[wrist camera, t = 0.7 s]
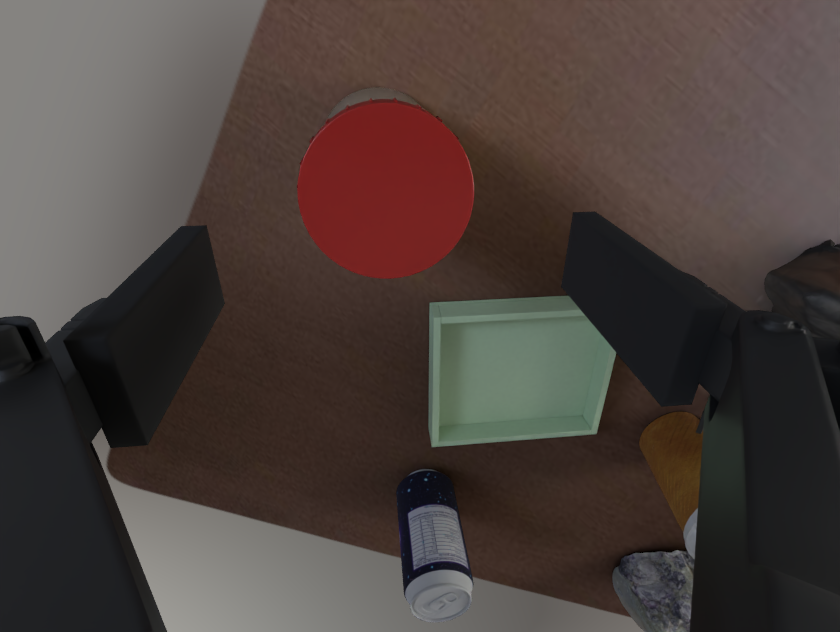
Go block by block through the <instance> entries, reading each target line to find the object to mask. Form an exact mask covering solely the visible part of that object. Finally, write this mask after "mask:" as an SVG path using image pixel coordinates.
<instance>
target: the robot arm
mask: <svg viewBox="0 0 840 632" xmlns="http://www.w3.org/2000/svg"><path fill="white" fill-rule="evenodd" d="M561 287H562V288H563V289H564V291H565V292H566V293H567V294H568V295H569V297H570V298H571V299H572V300H573V301H574V303H575V304H576V305H577V306H578V307H579V309H580V310H581V311H582V312H583V313H584V315H585V316H586V317H587V318H588V319H589V321H590V322H591V323H592V324H593V325H594V327H595V328H596V329H597V330H598V331H599V333H600V334H601V335H602V336H603V337H604V338H605V340H606V341H607V342H608V343H609V344H610V346H611V347H612V348H613V349H614V350H615V352H616V353H617V354H618V355H619V356H620V358H621V359H622V360H623V361H624V362H625V364H626V365H627V366H628V367H629V368H630V370H631V371H632V372H633V373H634V374H635V376H636V377H637V378H638V379H639V380H640V382H641V383H642V384H643V385H644V386H645V388H646V389H647V390H648V391H649V392H650V393H651V395H652V396H653V397H654V398H655V399H656V401H657V402H658V403H659V404H660V405H661V407H664V406H677V405H690V404H692V402H693V399H694V396H695V393H696V390H697V388H698V385H699V384H700V385H701V386H702V387H703V388H704V389H706V390H707V391H708V392H709V393H710V396H709V398H708V401H707V403H706V406H705V409H704V411H703V414H702V417H701V419H700V422H699V424H698V427H697V430H696V432H695V433H699V434H701V433H702V431H703V441H702V455H701V470H700V485H699V500H698V514H697V529H696V544H695V559H694V573H693V588H692V603H691V618H690V632H840V340H837V339H828V338H819V337H812V334H811V332H810V330H809V329H808V328H807V327H806V326H805V325H803V324H802V323H800V322H799V321H797V320H795V319H792V318H790V317H787V316H785V315H781V314H778V313H774V312H768V311H760V310H757V311H747V312H746V311H744V310H743V309H741V308H740V307H738V306H737V305H736V304H734V303H733V302H731V301H730V300H728V299H727V298H725V297H724V296H722V295H721V294H718V292H716V291H715V290H714V289H712V288H711V287H707V285H706V284H705V283H703V282H702V281H700V280H699V279H697V278H696V277H694V276H692V275H689V274H687V273H685V272H682V271H680V270H678V269H677V268H675V267H674V266H672V265H671V264H670V263H668V262H667V261H665V260H664V259H662V258H661V257H659V256H658V255H657V254H655V253H654V252H652V251H651V250H649V249H648V248H647V247H645V246H644V245H642V244H641V243H639V242H638V241H637V240H635V239H634V238H632V237H631V236H629V235H628V234H626V233H625V232H624V231H622V230H621V229H619V228H618V227H616V226H615V225H614V224H612V223H611V222H609V221H608V220H606V219H605V218H604V217H602V216H601V215H599V214H598V213H596V212H573V217H572V223H571V229H570V236H569V242H568V248H567V254H566V260H565V267H564V273H563V279H562V285H561ZM224 304H225V302H224V298H223V294H222V289H221V285H220V281H219V277H218V272H217V268H216V264H215V259H214V255H213V251H212V247H211V242H210V238H209V234H208V230H207V225H205V226H181V227H180V228H179V229H178V230H177V231H176V232H175V233H174V234H173V235H172V236H171V237H169V238H168V239H167V240H166V241H165V242H164V243H163V244H162V245H161V246H160V247H159V248H158V249H157V250H156V251H155V252H154V253H153V254H152V255H151V256H150V257H149V258H148V259H147V260H146V261H145V262H144V263H143V264H142V265H141V266H140V267H138V268H137V270H135V271H134V272H133V273H132V274H131V275H130V276H129V277H128V278H127V279H126V280H125V281H124V282H123V283H122V284H121V285H120V286H119V287H118V288H117V289H116V290H115V291H114V292H113V293H112V294H111V295H110V296H109V297H107V298H101V299H99V300H98V301H96V302H94V303H92V304H90V305H88V306H86V307H84V308H83V309H81V310H80V311H79V312H78V313H77V314H76V315H75V316H74V317H73V318H72V319H71V321H69V322H67V323H66V324H65V325H64V326H63V327H62V328H61V331H58V332H56V333H55V334H54V335H53V336H52V337H51V338H50V339H49V340H48V341H47V342H46V343H45V342H44V340H43V337H42V335H41V333H40V331H39V329H38V327H37V325H36V323H35V321H34V320H32V319H31V318H29V317H23V316H13V317H3V318H0V632H167V630H166V628H165V626H164V623H163V620H162V618H161V615H160V613H159V610H158V608H157V605H156V602H155V600H154V597H153V595H152V592H151V590H150V587H149V585H148V582H147V580H146V577H145V574H144V572H143V569H142V567H141V564H140V562H139V559H138V557H137V554H136V552H135V549H134V546H133V544H132V542H131V539H130V536H129V534H128V531H127V529H126V526H125V524H124V521H123V519H122V516H121V513H120V511H119V508H118V506H117V503H116V501H115V498H114V496H113V493H112V491H111V488H110V485H109V483H108V480H107V478H106V475H105V473H104V470H103V468H102V465H101V462H100V460H99V457H98V455H97V453H96V451H95V448H94V446H93V444H92V440H93V439H94V437H95V436H96V434H97V433H98V431H99V430H100V429H101V427H102V430H103V432H104V434H105V436H106V439H107V441H108V443H109V445H110V448H116V447H129V446H143V445H148V443H149V441H150V440H151V438H152V436H153V434H154V432H155V431H156V429H157V427H158V425H159V423H160V421H161V420H162V418H163V416H164V414H165V412H166V410H167V409H168V407H169V405H170V403H171V401H172V399H173V398H174V396H175V394H176V392H177V390H178V388H179V387H180V385H181V383H182V381H183V379H184V377H185V376H186V374H187V372H188V370H189V368H190V366H191V365H192V363H193V361H194V359H195V357H196V355H197V354H198V352H199V350H200V348H201V346H202V344H203V343H204V341H205V339H206V337H207V335H208V333H209V332H210V330H211V328H212V326H213V324H214V322H215V321H216V319H217V317H218V315H219V313H220V311H221V310H222V308H223V306H224Z"/></svg>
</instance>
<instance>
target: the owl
mask: <svg viewBox="0 0 840 632" xmlns="http://www.w3.org/2000/svg"><path fill="white" fill-rule="evenodd" d="M834 244H835V243H834V242H833V241H832V240H828V241H825V242H824V243H822V244H821V245H819V246H816V247H813V248H809V249H807V250H805V251H804V252H803V253H802V254H801V255H800V256H798V257H797V258H796V259H794V260H793V261H791V262H789V263H787V264H786V265H784V266H782V267H780V268H778V269H775V270H772V271H770V272H769V273H768V274H767V276H766V278H765V283H764V285H765V291H766V294H767V296H768V298H769V299H770V300H771V301H772V303H773V305H774V306H773V308H772V312H774V313H778V314H781V315H785V316H787V317H790V318H792V319H795V320H797V321H799V322H800V323H802V324H803V325H805V326H806V327H807V328H808V329H809V330H810V332H811V334H812V337H819V338H828V339H837V340H840V244H838V245H835V246H834Z"/></svg>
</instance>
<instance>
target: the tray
mask: <svg viewBox="0 0 840 632" xmlns="http://www.w3.org/2000/svg"><path fill="white" fill-rule="evenodd" d="M615 356H616V352H615V350H614V349H613V348H612V347H611V346H610V344H609V343H608V342H607V341H606V340H605V338H604V337H603V336H602V335H601V334H600V333H599V331H598V330H597V329H596V328H595V327H594V325H593V324H592V323H591V322H590V321H589V319H588V318H587V317H586V316H585V315H584V313H583V312H582V311H581V310H580V309H579V307H578V306H577V305H576V304H575V303H574V301H573V300H572V299H571V298H570V297H569V296H550V297H530V298H511V299H491V300H472V301H452V302H433V303H430V308H429V420H428V428H429V434H430V440H431V445H432V447H438V446H439V447H440V446H453V445H465V444H478V443H491V442H503V441H516V440H529V439H541V438H554V437H566V436H579V435H590V434H597V430H598V426H599V422H600V418H601V413H602V409H603V405H604V401H605V397H606V393H607V389H608V385H609V381H610V377H611V372H612V368H613V364H614V360H615Z"/></svg>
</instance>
